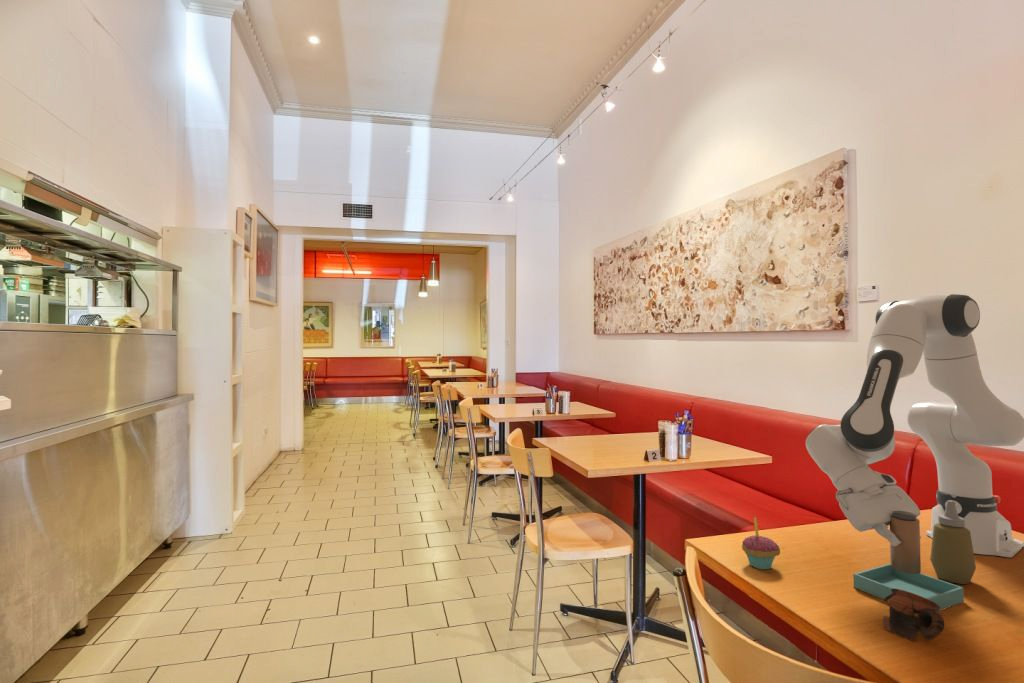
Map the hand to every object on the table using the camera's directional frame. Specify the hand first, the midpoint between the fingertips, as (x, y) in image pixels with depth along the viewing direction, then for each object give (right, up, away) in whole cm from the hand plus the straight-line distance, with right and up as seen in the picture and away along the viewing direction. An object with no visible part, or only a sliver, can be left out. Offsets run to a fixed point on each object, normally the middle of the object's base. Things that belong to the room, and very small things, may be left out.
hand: (908, 542), depth 110 cm
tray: (0, -11, 0) cm, 11 cm away
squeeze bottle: (+16, -12, +8) cm, 22 cm away
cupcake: (-24, -12, +16) cm, 32 cm away
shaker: (0, -6, 0) cm, 6 cm away
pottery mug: (-10, -11, -15) cm, 21 cm away
